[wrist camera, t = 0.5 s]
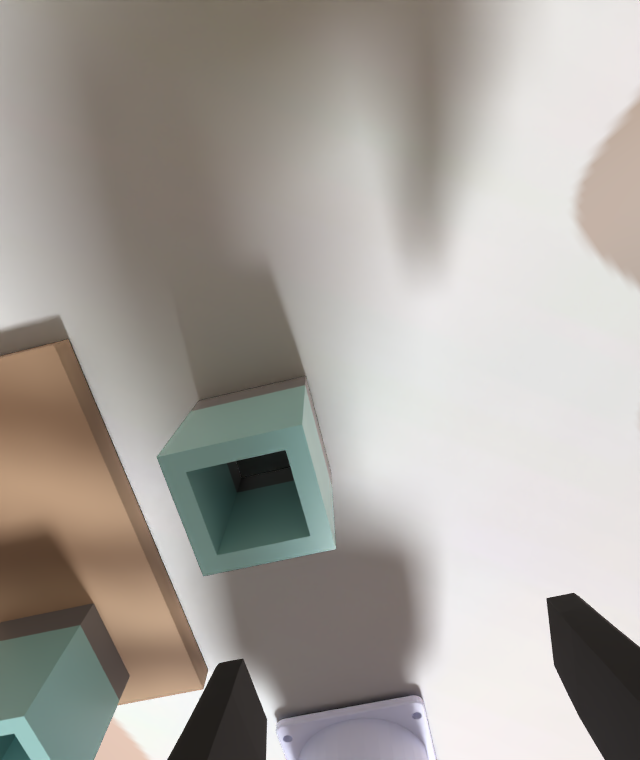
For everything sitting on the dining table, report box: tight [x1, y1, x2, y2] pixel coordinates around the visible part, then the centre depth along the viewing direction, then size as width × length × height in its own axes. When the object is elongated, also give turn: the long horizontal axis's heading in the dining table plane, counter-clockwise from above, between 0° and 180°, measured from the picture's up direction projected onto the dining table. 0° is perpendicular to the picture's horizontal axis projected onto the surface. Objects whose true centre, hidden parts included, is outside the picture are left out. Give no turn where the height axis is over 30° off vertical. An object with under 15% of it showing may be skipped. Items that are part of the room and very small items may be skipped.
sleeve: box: [157, 376, 336, 576], centre depth 16 cm, size 5×5×5 cm
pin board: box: [0, 339, 208, 705], centre depth 19 cm, size 18×11×4 cm, turn 13°
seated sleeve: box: [0, 603, 130, 760], centre depth 18 cm, size 5×5×5 cm
